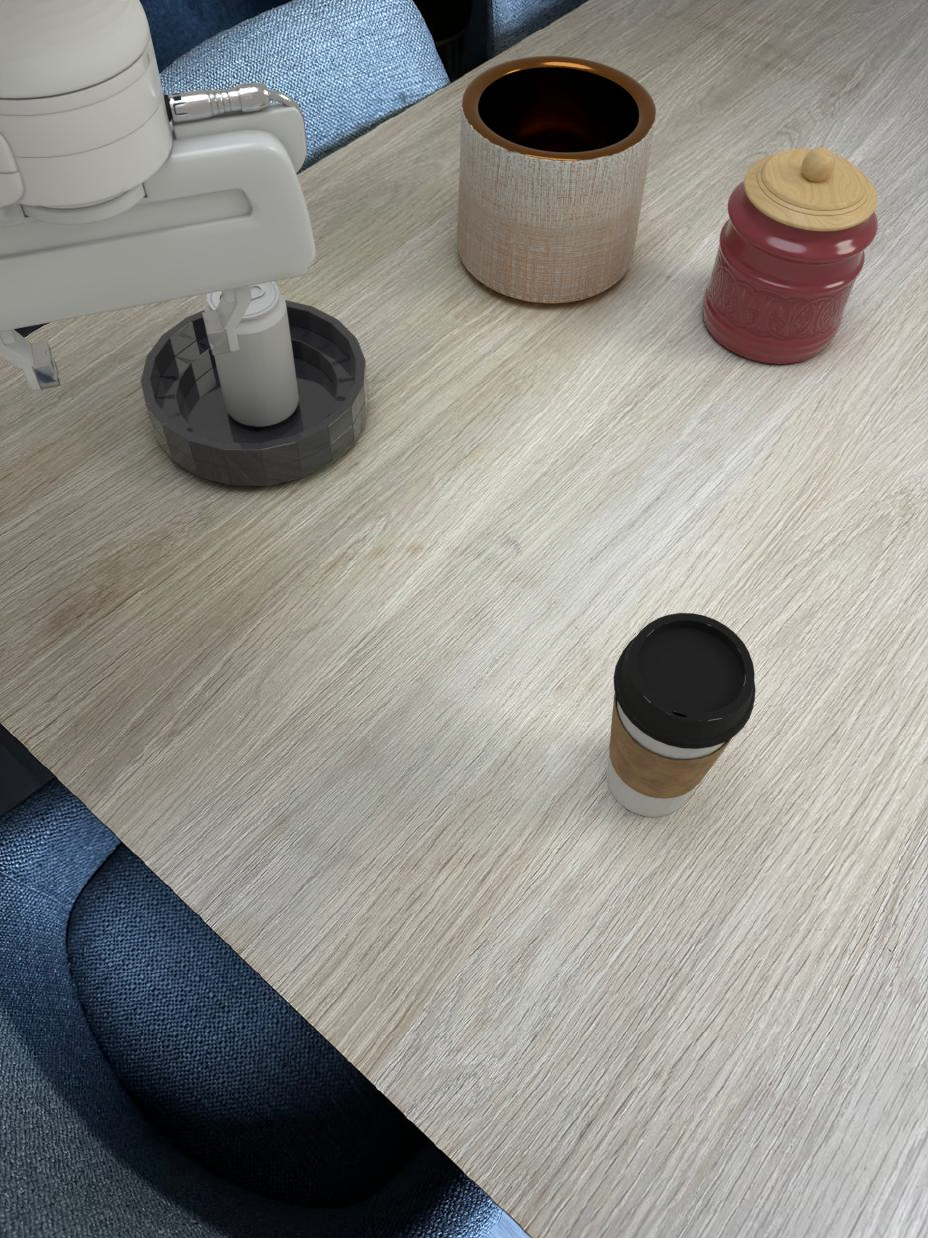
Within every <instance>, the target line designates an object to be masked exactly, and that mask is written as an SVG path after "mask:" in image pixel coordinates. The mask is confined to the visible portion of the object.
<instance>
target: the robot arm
mask: <svg viewBox="0 0 928 1238" xmlns="http://www.w3.org/2000/svg"><path fill="white" fill-rule="evenodd" d="M271 101H273V102H271ZM305 123H306V122H305V116H304V114H303V111H302V109H301V107H300V106H299V105H298V103H297V102H296V101H295V99H293V98H292V97H290V96H289V95H287V94H286V93H284V92H281V91H279V90H273V89H268V86H267V84H266V83H264V82H263V83H262V82H245V83H240V84H236V85H235V87H230V88H226V89H225V88H222V89H214V90H213V89H197V90H191V91H183V92H175V93H168V94H165V92H164V90H163V86H162V81H161V76H160V71H159V67H158V62H157V57H156V53H155V48H154V44H153V40H152V35H151V30H150V25H149V21H148V18H147V15H146V12H145V10H144V7H143V5H142V3H141V1H140V0H0V358H1V359H3V360H4V361H6V362H7V363H9V364H10V365H11V366H13V367H15V368H16V369H18V370H21V371H22V374H23V376H24V378H25V381H26V383H27V385H28V387H29V390H30V391H31V392H37V391H42V390H47V389H53V388H56V387H60V386H61V381H60V378H59V376H60V374H59V369H58V365H57V362H56V360H55V357H53V353H52V352H53V351H52V350H51V347H50V344H49V341H42V342H36V343H31V342H30V341H29V340H28V339H26V338H25V337H24V336H23V335H22V334H20V333H19V332H17V330H16V329H22V328H27V327H33V326H38V325H39V326H40V325H44V324H49V323H54V322H61V321H65V320H72V319H76V318H81V317H82V318H83V317H87V316H93V315H98V314H103V313H109V312H113V311H114V312H116V311H120V310H126V309H131V308H137V307H141V306H146V305H153V304H157V303H163V302H169V301H175V300H181V299H186V298H191V297H196V296H201V295H207V294H208V293H213V292H218V291H222V297H221V299H220V302H219V304H218V307H217V309H216V310H211V311H206V312H202V314H203V319H204V323H205V327H206V332H207V337H208V340H209V344H210V347H211V351H212V354H213V355H219V354H225V353H230V352H236V351H239V344H238V339H237V334H236V328H237V327H238V326H239V324H240V322H241V320H242V318H243V316H244V314H245V312H246V310H247V308H248V306H249V304H250V302H251V300H252V298H251V292H250V286H251V285H257V284H262V283H268V282H273V281H274V282H278V281H284V280H289V279H294V278H298V277H301V276H303V275H304V274H306V272H307V270H308V269H309V268H310V266H311V265H312V263H313V261H314V260H315V258H316V255H317V251H316V249H317V248H316V242H315V236H314V232H313V225H312V222H311V217H310V213H309V209H308V206H307V201H306V198H305V195H304V192H303V189H302V186H301V183H300V180H299V177H298V174H297V173H298V172H299V171H300V170H301V169H302V167H303V165H304V162H305V160H306V158H307V153H308V142H307V141H308V140H307V131H306V124H305Z"/></svg>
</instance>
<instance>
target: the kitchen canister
mask: <svg viewBox="0 0 928 1238" xmlns="http://www.w3.org/2000/svg"><path fill="white" fill-rule="evenodd" d="M878 199H879V198H878V192H877V189H876V187H875V185H874V184H873V182H872V181H871V179H870V178H869V177H868V176H867V175H866V174H865V173H863V171H861V170H860V169H859V168H858V167H857V166H856V165H855V164H854V163H853V162H852V161H850V160H848V159H847V158H845V157H843V156H841V155H838V154H836V153H834V152H832V151H831V150H830V149H829V148H826V147H823V146H820V147H819V146H818V147H813V148H808V147H807V148H805V147H803V148H801V147H800V148H793V149H792V148H790V149H787V150H783V151H780V152H776V153H772V154H769V155H766V156H764V157H761V158H760V159H757V161H754V163H752V164H751V166H749V168H748V169H747V171H746V173H745V175H744V178H743V181H741V182H740V183H739V184H737V186H735V188H734V189H733V190H732V192H730V195H729V197H728V200H727V213H728V219H727V220H726V221H725V223H724V224H723V226H721V227H722V228H721V230H720V233H719V238H718V239H719V240H718V242H719V244H718V247H717V251H716V255H715V259H714V262H713V267H712V271H711V274H710V278H709V280H708V281H707V284H706V286H705V291H704V294H703V300H702V305H703V309H702V310H703V311H702V316H703V321H704V324H705V327H706V328H707V331H708V332H709V333H710V335H711V336H712V337H713V339H714V340H716V341H717V342H718V344H720V345H721V346H723V347H724V348H726V349H727V350H729V351H730V352H732V353H734V354H736V355H738V356H740V357H743V358H746V359H749V360H752V361H756V362H759V363H764V364H765V363H766V364H775V365H783V364H784V365H786V364H787V365H788V364H794V363H801V362H805V361H807V360H810V359H812V358H814V357H815V356H817V355H820V354H821V353H822V352H823V351H824V350H825V349H826V348H827V347H828V346H829V344H830V343H831V341H832V340H833V339H834V337H835V336H836V335H837V333H838V331H839V329H840V325H841V324H842V321H843V317H844V311H845V309H846V305H847V303H848V301H849V299H850V296H851V294H852V290H853V288H854V285H855V283H856V281H857V278H858V276H859V275H860V274H861V272H862V270H863V268H864V265H865V260H866V256H865V255H866V254H865V253H866V252H865V250H866V249H868V247H869V246H870V245H871V244H872V243H873V241H874V240H875V238H876V237H877V234H878V231H879V230H878V229H879V221H878V217H877V213H876V209H877V205H878Z"/></svg>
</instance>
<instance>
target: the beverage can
mask: <svg viewBox="0 0 928 1238" xmlns="http://www.w3.org/2000/svg"><path fill="white" fill-rule="evenodd" d="M250 292H251V298H252V300H251V302H250V304H249V306H248V308H247V310H246V312H245V314H244V316H243V318H242V320H241V322H240V324H239V326H238V327H237V328H236V334H237V339H238V344H239V351H236V352H230V353H225V354H219V355H214V357H215V362H216V366H217V371H218V375H219V380H220V385H221V389H222V394H223V398H224V403H225V407H226V410H227V412H228V413H229V415H230V416H231V417H232V418H233V419H234V420H236V421H238V422H240V423H242V424H245V425H248V426H254V427H265V426H271V425H274V424H277V423H280V422H282V421H284V420H285V419H287V418H288V417H289V416H290V415H291V414H292V413H293V412H294V411H295V409H296V408H297V405H298V401H299V395H298V387H297V380H296V373H295V366H294V358H293V351H292V344H291V337H290V329H289V322H288V315H287V308H286V302H285V300H286V299H285V297H284V296H283V295H282V293H281V292H280V288H279V285H278V284H277V283H276V281H273V282H268V283H262V284H257V285H251V286H250ZM221 297H222V291H218V292H213V293H208V294H206V303H205V306H204V310H205V312H206V311H211V310H216V309H217V307H218V304H219V302H220V299H221Z"/></svg>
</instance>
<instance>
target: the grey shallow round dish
mask: <svg viewBox="0 0 928 1238" xmlns="http://www.w3.org/2000/svg"><path fill="white" fill-rule="evenodd" d="M285 302H286V308H287V315H288V322H289V329H290V337H291V344H292V351H293V358H294V366H295V373H296V380H297V387H298V395H299V401H298V405H297V408H296V409H295V411H294V412H293V413H292V414H291V415H290V416H289V417H288V418H287V419H285V420H284V421H282V422H280V423H277V424H274V425H271V426H265V427H254V426H248V425H245V424H242V423H240V422H238V421H236V420H234V419H233V418H232V417H231V416H230V415H229V413H228V412H227V410H226V407H225V403H224V398H223V394H222V389H221V385H220V380H219V375H218V371H217V366H216V362H215V357H214V355H213V354H212V351H211V347H210V344H209V340H208V337H207V332H206V327H205V323H204V319H203V314H202V312H205V309H203V310H201V311H198V312H196V313H193V314H191V315H189V316H186V317H185V318H183V319H182V320H180V321H179V322H178V323H177V324H175V325H173V326H172V327H171V328H169V329H168V330H167V331H165V332H164V333H163V334H161V336H160V337H159V339H158V340H157V342H156V343H155V344H154V345H153V347H152V348H151V349H150V351H149V352H148V354H147V355H146V357H145V361H144V365H143V370H142V373H141V378H140V385H141V390H142V394H143V399H144V402H145V407H146V410H147V413H148V417H149V420H150V423H151V426H152V429H153V432H154V436H155V439H156V441H157V442H158V444H159V445H160V446H161V448H162V449H163V450H164V451H165V453H166V454H167V455H168V456H169V458H170V459H171V460H172V461H173V462H174V463H175V464H177V465H178V466H180V467H182V468H184V469H185V470H187V471H188V472H190V473H192V474H193V475H195V476H196V477H199V478H202V479H205V480H209V481H213V482H217V483H221V484H225V485H228V486H259V487H262V486H263V487H264V486H265V487H267V486H269V487H270V486H272V485H277V484H281V483H285V482H286V483H287V482H290V481H296V480H300V479H302V478H305V477H306V476H308V475H310V474H312V473H315V472H317V471H319V470H320V469H322V468H325V467H327V466H329V465H331V464H332V463H334V462H335V461H336V460H337V459H338V458H339V457H340V456H341V455H342V454H344V453H345V452H346V451H347V450H348V449H350V447H351V446H352V445H353V444H354V443H356V441H357V439H358V436H359V435H360V432H362V429H363V427H364V425H365V423H366V421H367V419H368V403H369V402H368V401H369V390H368V388H369V387H368V379H367V378H368V375H367V361H366V358H365V355H364V352H363V350H362V348H361V345H360V343H359V340H358V338H357V337H356V336H355V335H354V334H353V333H352V332H351V331H350V330H349V328H347V326H345V325H344V324H343V323H342V322H341V320H339V319H338V318H336V317H334V316H332V315H330V314H328V313H326V312H324V311H323V310H320V309H319V308H316V307H315V306H312V305H308V304H305V303H300V302H296V301H292V300H287V299H285Z"/></svg>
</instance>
